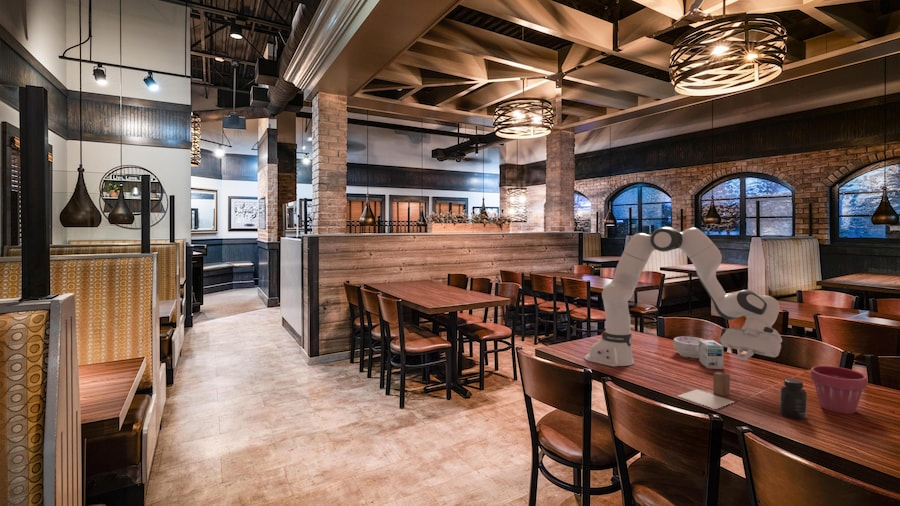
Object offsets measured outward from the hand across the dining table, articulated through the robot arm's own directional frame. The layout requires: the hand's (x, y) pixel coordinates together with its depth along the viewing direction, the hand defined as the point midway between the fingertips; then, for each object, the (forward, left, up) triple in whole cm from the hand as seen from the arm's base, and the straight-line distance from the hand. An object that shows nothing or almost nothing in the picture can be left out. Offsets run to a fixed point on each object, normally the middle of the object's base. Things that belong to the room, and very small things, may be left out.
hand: (741, 359), depth 165 cm
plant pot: (+28, -4, -12) cm, 30 cm away
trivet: (-9, -21, -11) cm, 26 cm away
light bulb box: (-13, +25, -12) cm, 30 cm away
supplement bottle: (+16, -20, -12) cm, 28 cm away
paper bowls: (-23, +37, -12) cm, 45 cm away
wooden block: (-5, -12, -12) cm, 18 cm away
